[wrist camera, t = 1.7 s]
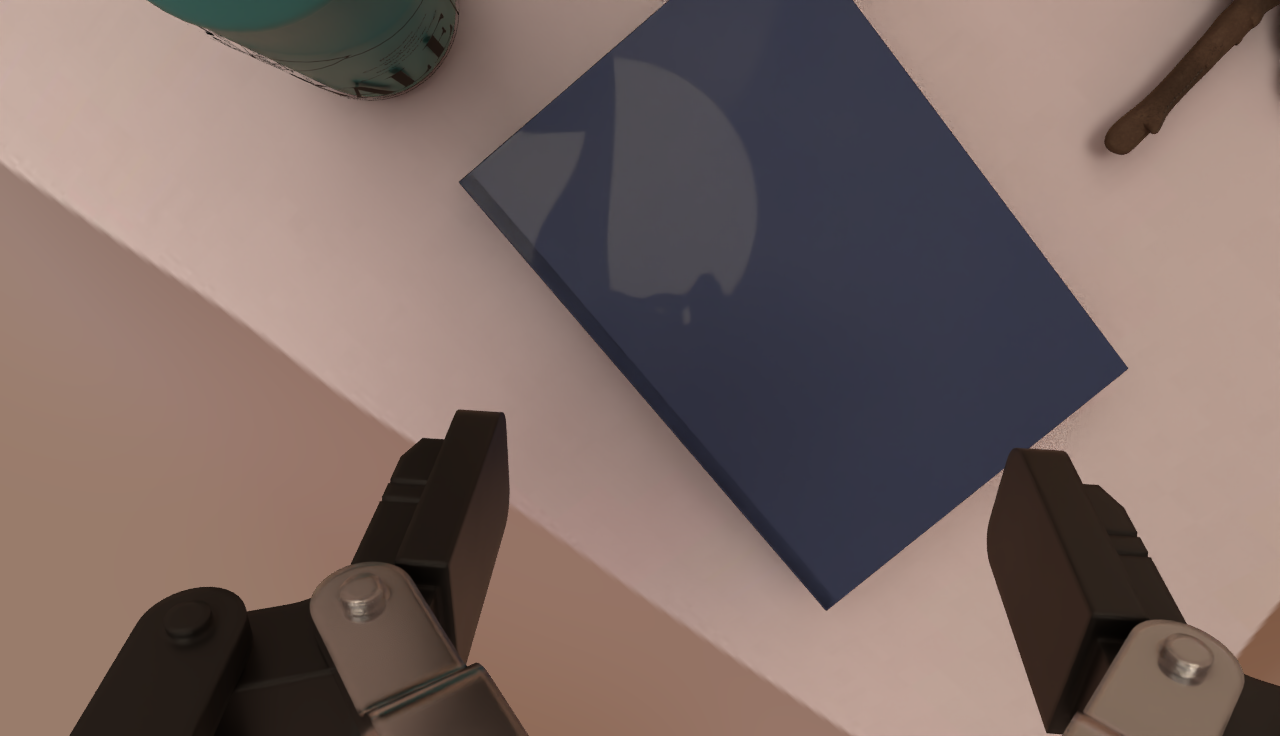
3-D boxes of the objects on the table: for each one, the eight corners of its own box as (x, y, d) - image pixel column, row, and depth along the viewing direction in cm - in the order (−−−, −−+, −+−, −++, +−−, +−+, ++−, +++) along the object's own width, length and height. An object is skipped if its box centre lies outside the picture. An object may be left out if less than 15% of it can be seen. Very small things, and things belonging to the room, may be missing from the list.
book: (468, 184, 37) (458, 181, 34) (764, -72, 36) (780, -97, 33) (809, 581, 40) (826, 611, 37) (1088, 356, 39) (1129, 368, 36)
